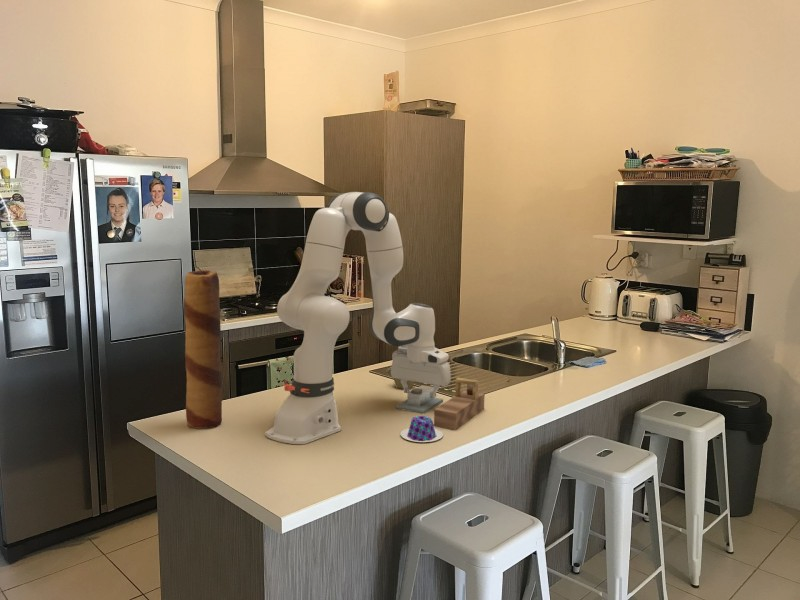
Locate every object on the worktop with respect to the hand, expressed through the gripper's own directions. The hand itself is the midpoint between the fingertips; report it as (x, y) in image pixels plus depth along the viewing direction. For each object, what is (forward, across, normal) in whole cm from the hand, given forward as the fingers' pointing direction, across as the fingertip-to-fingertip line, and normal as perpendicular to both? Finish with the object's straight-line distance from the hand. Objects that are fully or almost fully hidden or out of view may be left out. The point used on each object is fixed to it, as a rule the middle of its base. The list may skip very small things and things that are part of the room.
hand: (419, 395), depth 211 cm
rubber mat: (+3, 0, 0) cm, 3 cm away
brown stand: (+3, +16, -4) cm, 17 cm away
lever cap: (+3, 0, +1) cm, 3 cm away
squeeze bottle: (+4, -14, +15) cm, 21 cm away
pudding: (+4, +13, -24) cm, 27 cm away
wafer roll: (+4, -46, -48) cm, 66 cm away
